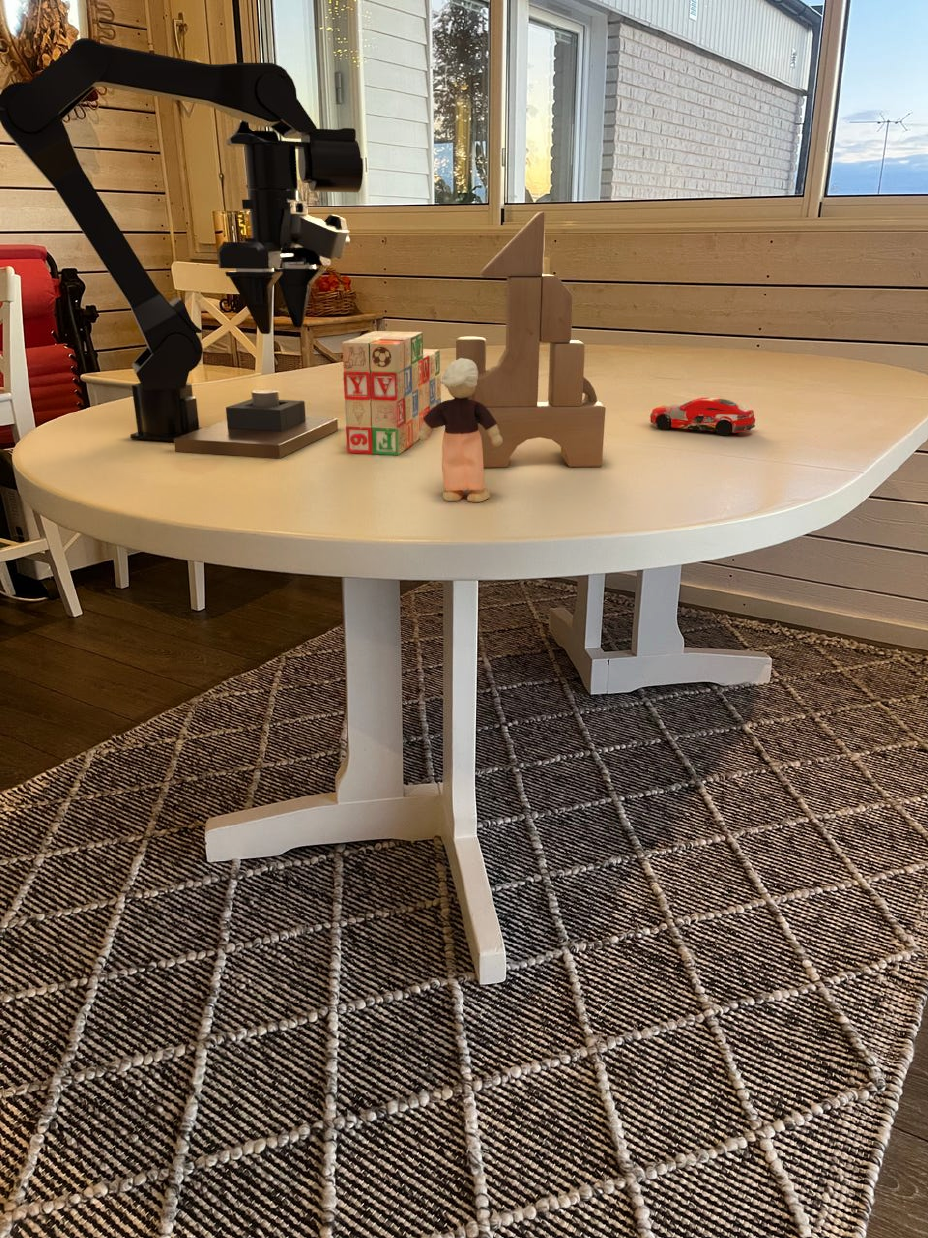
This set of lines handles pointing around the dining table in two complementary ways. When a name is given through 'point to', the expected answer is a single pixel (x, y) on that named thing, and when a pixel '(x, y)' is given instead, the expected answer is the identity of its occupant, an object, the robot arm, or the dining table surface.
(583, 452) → the wooden toy
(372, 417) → the stack of blocks
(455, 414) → the grandmother figurine
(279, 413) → the rubber pad
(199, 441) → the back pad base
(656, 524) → the dining table surface
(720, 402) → the race car
